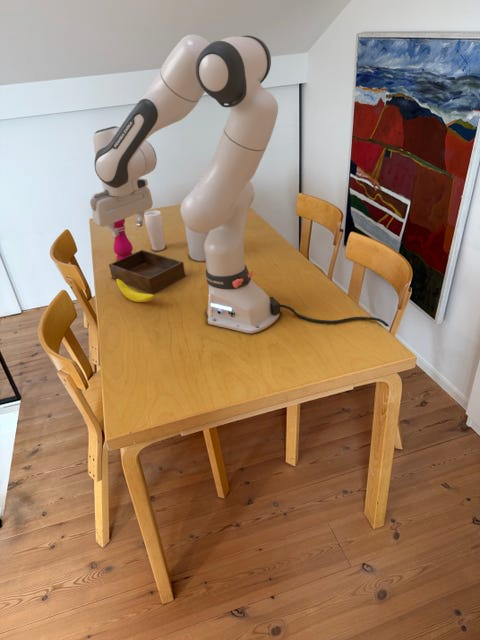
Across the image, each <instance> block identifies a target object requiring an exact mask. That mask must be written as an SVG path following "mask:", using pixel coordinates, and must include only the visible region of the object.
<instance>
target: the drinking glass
mask: <svg viewBox="0 0 480 640" xmlns="http://www.w3.org/2000/svg"><path fill="white" fill-rule="evenodd" d="M143 219H144V223H145V228H146V231H147V234H148V237H149V241H150V245H151V249H152V251H155V252H159V251H163V250H164V249H166V243H165V233H164V221H163V216H162V212H161V211H160V210H149V211H145V212H144V218H143Z"/></svg>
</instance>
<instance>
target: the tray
mask: <svg viewBox="0 0 480 640" xmlns="http://www.w3.org/2000/svg"><path fill="white" fill-rule="evenodd" d="M108 267H109V270H110V276H111V278H112V279H113V280H115V281H117V280H116V279H115V277H117V278H118V279H119V280H121V281H122V282H124V283H125V284H126V285H129V286H132V287H134V288H136V289H139V290H141V291H144V292H147V293H148V294H153V295H154V294H155V293H156V292H158V291H160V290H162V289H164V288H166V287H167V286H170V285H171V284H174V283H175V282H177V281H179V280H181V279H183V278H185V277H186V272H185V271H186V270H185V265H184V261H181V260H178V259H174V258H171V257H167V256H164V255H161V254H158V253H154V252H153V251H152V252H151V251H148V250H145V249H140V250H138V251H136V252H134V253H133V254H131V255H129V256H127V257H125V258H122V259H120V260H116V261H114V262H111V263H109V264H108Z"/></svg>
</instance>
